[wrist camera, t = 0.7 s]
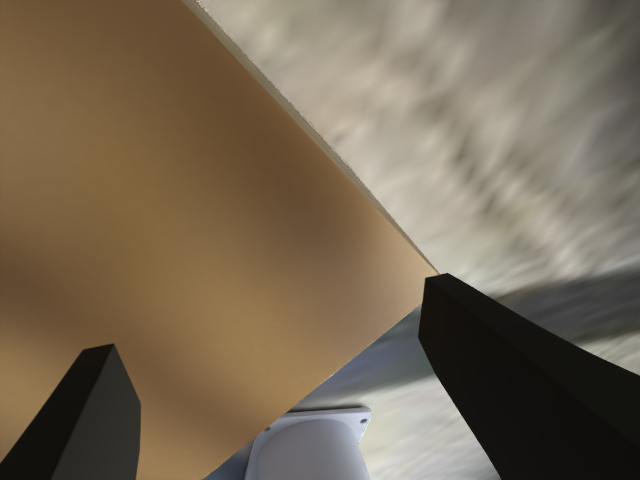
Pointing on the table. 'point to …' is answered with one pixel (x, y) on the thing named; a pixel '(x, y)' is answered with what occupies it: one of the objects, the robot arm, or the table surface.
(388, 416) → the table surface
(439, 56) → the table surface
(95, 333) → the cabinet
